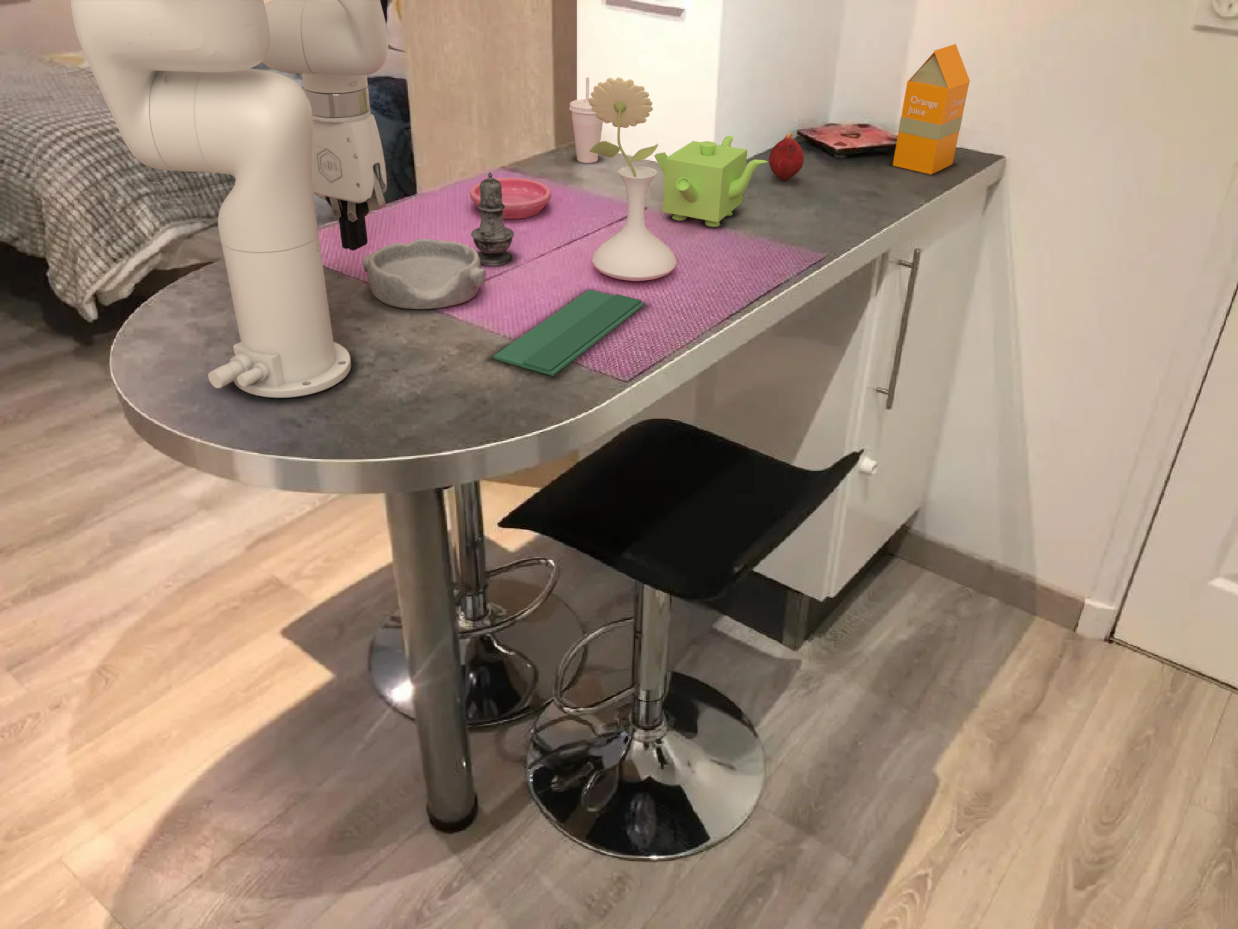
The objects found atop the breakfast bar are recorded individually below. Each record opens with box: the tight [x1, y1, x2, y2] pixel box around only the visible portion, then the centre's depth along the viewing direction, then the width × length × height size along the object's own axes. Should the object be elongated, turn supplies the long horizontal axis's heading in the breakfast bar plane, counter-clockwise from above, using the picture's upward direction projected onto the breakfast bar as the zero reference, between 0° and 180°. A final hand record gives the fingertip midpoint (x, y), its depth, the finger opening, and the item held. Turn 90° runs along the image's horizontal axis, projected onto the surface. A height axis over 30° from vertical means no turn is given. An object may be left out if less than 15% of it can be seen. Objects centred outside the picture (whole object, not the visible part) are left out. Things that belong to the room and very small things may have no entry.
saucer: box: [469, 177, 552, 220], centre depth 157 cm, size 12×12×3 cm
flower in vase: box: [588, 77, 677, 282], centre depth 132 cm, size 13×11×25 cm
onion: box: [768, 132, 805, 182], centre depth 171 cm, size 6×6×8 cm
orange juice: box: [892, 43, 971, 175], centre depth 178 cm, size 8×9×20 cm
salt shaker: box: [470, 171, 515, 266], centre depth 138 cm, size 6×6×12 cm
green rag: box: [492, 289, 645, 377], centre depth 122 cm, size 22×8×1 cm, turn 152°
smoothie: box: [569, 77, 604, 164], centre depth 177 cm, size 6×6×14 cm
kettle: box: [654, 135, 769, 227], centre depth 155 cm, size 15×14×11 cm
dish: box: [362, 238, 486, 310], centre depth 130 cm, size 14×14×5 cm
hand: (355, 245), depth 133 cm, fingers closed
